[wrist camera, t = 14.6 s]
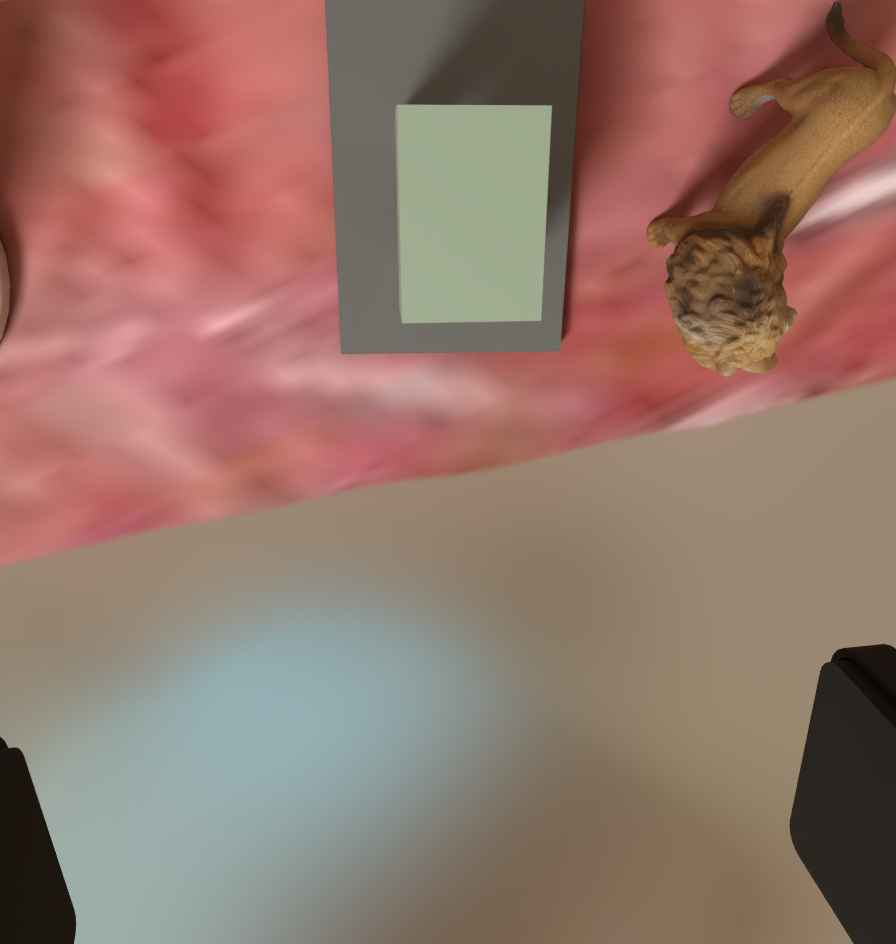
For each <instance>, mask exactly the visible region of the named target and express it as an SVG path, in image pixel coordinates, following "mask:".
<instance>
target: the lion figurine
mask: <svg viewBox="0 0 896 944" xmlns="http://www.w3.org/2000/svg"><path fill="white" fill-rule="evenodd" d="M826 26H827V31H828V32H829V35H830V38H831V40H832V41H833V42H834V43H835V44H836V45H837V46H838V47H839V48H840V49H841V50H842V51H843V52H844V53H845V54H847V55H848V56H850V57H851V58H852V59H854V60H855V61H857V62H859V63H861V64H862V65H864V66H865V67H864V66H842V67H833V68H828V69H824V70H821V71H818V72H816V73H813V74H811V75H809V76H807V77H804V78H802V79H800V80H796V79H795V78H793V77H791V76H784V77H781V78H778V79H775V80H772V81H769V82H766V83H763V84H757V85H751V86H748V87H745V88H742V89H740V90H738V91H737V92H736V93H734V94H733V96H732V97H731V98H730V103H729V109H730V111H731V112H732V113H733V114H734V115H735V116H736V117H737V118H739V119H746V118H748V117H750V116H751V115H752V114H754V112H755V111H756V110H757V109H758V108H759V107H760V106H761V105H762V104H764V103H765V102H767V101H769V100H772V99H776V100H777V101H778V103H779V104H780V106H781V107H782V108H783V109H784V110H786V111H788V112H790V113H791V114H792V120H791V122H790V123H789V124H788V125H787V126H786V127H785V128H784V129H783V130H782V131H781V132H780V133H778V134H777V135H776V136H774V137H773V138H772V139H770V140H769V141H768V142H767V143H765V144H764V145H763V146H761V147H760V148H759V149H757V150H756V151H755V152H754V153H753V154H752V155H751V156H750V157H749V158H748V159H747V160H746V161H745V162H744V163H743V164H742V165H741V166H740V167H739V169H738V170H737V171H736V172H735V173H734V175H733V176H732V177H731V179H730V180H729V182H728V183H727V185H726V186H725V188H724V190H723V192H722V193H721V195H720V197H719V198H718V200H717V202H716V204H715V206H714V208H713V210H711V211H708V212H704V213H701V214H698V215H695V216H690V217H664V218H661V219H658V220H655V221H653V222H652V223H651V224H650V225H649V226H648V228H647V238H648V240H649V242H650V244H651V245H654V246H656V247H658V248H663V247H664V246H665V245H666V244H667V243H669V242H672V243H673V244H674V245H676V247H675V251H674V253H673V254H671V256H670V257H669V258H668V259H667V261H666V265H667V272H668V273H669V278H668V279H667V281H666V282H665V291H666V294H667V296H668V299H669V304H670V307H671V309H672V311H673V319H674V322H675V323H676V327H677V328H678V332H679V336H680V337H682V340H683V342H684V345H685V347H686V349H687V351H688V352H689V354H690V356H692V357H693V358H694V360H696V361H697V362H698V363H699V364H700V365H701V366H704V367H706V368H711V369H714V370H715V371H718V372H719V373H721V374H722V375H723V376H730V375H732V374H733V373H734V372H735V371H736V370H737V369H738V368H740V367H742V368H743V369H744V370H746V371H749V372H757V373H761V374H764V373H767V372H769V371H771V370H773V369H774V368H775V366H776V364H777V357H776V355H775V350H776V347H777V343H778V342H779V341H780V340H781V338H782V334H783V333H785V332H787V331H789V330H790V328H791V326H792V322H793V321H794V320H795V317H796V315H797V312H796V310H795V309H793V308H791V307H789V306H787V296H786V293H785V291H784V288H783V286H782V281H783V278H784V274H783V272H784V271H785V269H786V267H787V262H786V259H785V257H784V255H783V254H782V250H783V246H784V241H785V239H786V238H787V236H788V235H789V234H790V233H791V232H792V231H793V229H794V228H795V227H796V226H797V225H798V224H799V223H800V221H801V220H802V219H803V217H804V216H805V214H806V213H807V212H808V210H809V209H810V208H811V206H812V205H813V204H814V202H815V201H816V199H817V197H818V196H819V194H820V192H821V191H822V189H823V188H824V186H825V185H826V184H827V182H828V181H829V179H830V178H831V177H832V176H833V175H834V173H835V172H836V171H837V170H838V169H839V168H840V167H841V166H842V165H843V164H844V163H845V162H846V161H848V160H849V159H851V158H852V157H853V156H855V155H857V154H858V153H860V152H861V151H863V150H864V149H866V148H867V147H869V146H870V145H872V144H873V143H874V142H876V141H877V140H878V139H879V138H880V137H881V136H882V134H883V133H884V132H885V130H886V129H887V127H888V125H889V123H890V121H891V119H892V117H893V115H894V113H895V110H896V96H895V94H894V93H893V91H894V88H895V84H896V66H895V64H894V62H893V60H892V59H891V58H890V57H889V56H888V55H886V54H884V53H882V52H880V51H877V50H875V49H872V48H869V47H867V46H865V45H862V44H859V43H857V42H856V41H854V40H853V39H851V37H850V36H849V35H848V33H847V32H846V30H845V27H844V18H843V16H842V9H841V4H840V3H838V2H837V1H836V2H834V3H833V6H832V8H831V10H830V12H829V13H828V15H827V18H826Z"/></svg>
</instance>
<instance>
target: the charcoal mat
mask: <svg viewBox="0 0 896 944" xmlns="http://www.w3.org/2000/svg"><path fill="white" fill-rule="evenodd" d="M584 2H585V0H325V5H326V27H327V49H328V72H329V94H330V116H331V138H332V161H333V183H334V205H335V228H336V250H337V272H338V294H339V317H340V339H341V354H380V353H457V352H534V351H560V347H561V332H562V318H563V304H564V289H565V275H566V261H567V246H568V232H569V217H570V203H571V189H572V174H573V160H574V146H575V131H576V117H577V103H578V88H579V74H580V60H581V45H582V31H583V17H584ZM396 105H549V106H552V114H551V134H550V154H549V174H548V194H547V214H546V234H545V254H544V274H543V294H542V313H541V321H503V322H448V323H402V321H401V315H400V309H399V265H398V221H397V177H396V132H395V107H396Z"/></svg>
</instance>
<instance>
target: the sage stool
mask: <svg viewBox="0 0 896 944" xmlns="http://www.w3.org/2000/svg"><path fill="white" fill-rule="evenodd" d="M551 114H552V106H549V105H396V107H395V132H396V177H397V221H398V265H399V309H400V315H401V321H402V323H448V322H503V321H541V313H542V294H543V274H544V254H545V234H546V214H547V194H548V174H549V154H550V134H551Z"/></svg>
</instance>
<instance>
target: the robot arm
mask: <svg viewBox="0 0 896 944" xmlns="http://www.w3.org/2000/svg"><path fill="white" fill-rule="evenodd" d="M9 305H10V278H9V272H8V266H7V260H6V254H5V251H4V248H3V245H2V243H1V240H0V340H1V338H2V336H3V333H4V329H5V325H6V321H7V318H8V314H9ZM790 834H791V838H792V842H793V844H794V847H795V850H796V851H797V854H798V855H799V857H800V859H801V860H802V862H803V863H804V865H805V867H806V868H807V870H808V871H809V873H810V875H811V876H812V878H813V879H814V881H815V883H816V884H817V886H818V887H819V889H820V891H821V892H822V894H823V895H824V897H825V899H826V900H827V902H828V903H829V905H830V906H831V908H832V910H833V911H834V913H835V914H836V916H837V918H838V919H839V921H840V922H841V924H842V926H843V927H844V929H845V931H846V932H847V934H848V935H849V937H850V938H851V940H852V941H853V943H854V944H896V649H895V648H894V647H892V646H890V645H886V644H880V645H870V646H860V647H851V648H842V649H839V650H837V651H836V652H835V653H834V654H833V656H832V659H831V662H828V663H825V664H824V665H823V666H822V668H821V671H820V675H819V680H818V684H817V689H816V694H815V700H814V705H813V709H812V714H811V719H810V724H809V729H808V734H807V739H806V744H805V749H804V754H803V759H802V764H801V769H800V773H799V778H798V783H797V788H796V794H795V798H794V803H793V808H792V813H791V818H790ZM75 932H76V916H75V911H74V907H73V904H72V901H71V898H70V896H69V892H68V889H67V886H66V883H65V880H64V877H63V874H62V871H61V868H60V865H59V862H58V859H57V855H56V852H55V849H54V846H53V843H52V840H51V837H50V834H49V831H48V828H47V825H46V822H45V819H44V816H43V813H42V810H41V807H40V803H39V800H38V798H37V795H36V792H35V788H34V785H33V782H32V779H31V776H30V773H29V770H28V767H27V764H26V761H25V758H24V755H23V753H22V751H21V750H20V749H19V748H8V746H7V744H6V742H5V741H4V740H3V739H2V738H1V737H0V944H74V939H75Z"/></svg>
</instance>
